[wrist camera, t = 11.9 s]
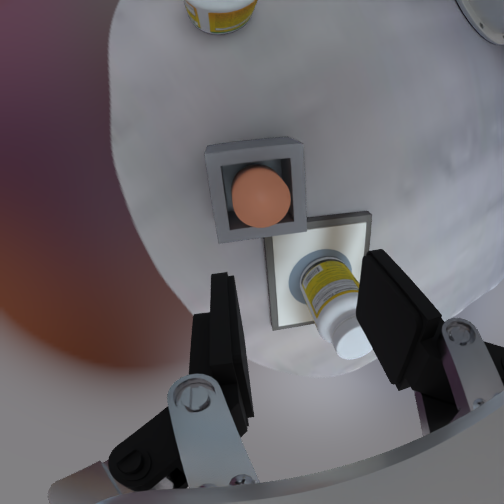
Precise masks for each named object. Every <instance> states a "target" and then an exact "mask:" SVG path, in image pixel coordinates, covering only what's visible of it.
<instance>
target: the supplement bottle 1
mask: <svg viewBox="0 0 504 504" xmlns="http://www.w3.org/2000/svg"><path fill="white" fill-rule="evenodd" d="M184 2H185V6H186V8H187V12H188V14H189V17H190V19H191V21H192V23H193V24H194V25H195V26H196V27H197V28H199V29H200V30H202V31H204V32H207V33H211V34H226V33H230V32H234V31H236V30H238V29H240V28H241V27H243V26H244V25H245V24H246V23H247V22H248V21H249V19H250V17H251V15H252V13H253V11H254V8H255V5H256V3H257V0H184Z"/></svg>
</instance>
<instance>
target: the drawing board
mask: <svg viewBox="0 0 504 504" xmlns="http://www.w3.org/2000/svg"><path fill="white" fill-rule="evenodd" d="M371 222H372V214H371V213H369V212H368V211H363V212H354V213H345V214H336V215H328V216H319V217H311V218H307V232H301V233H293V234H286V235H278V236H271V237H264V246H265V257H266V268H267V279H268V290H269V301H270V313H271V325H272V329H273V331H274V330H280V329H286V328H292V327H298V326H303V325H309V324H314V323H315V322H314V320H313V317H312V315H311V313H310V310H309V308H308V306H307V303H306V301H305V299H304V296H303V294H302V291H301V288H300V279H301V275H302V273H303V271H304V270H305V269H306V267H307V266H308V265H309V264H311V263H312V262H314V261H315V260H317V259H320V258H324V257H334V258H337V259H339V260H341V261H342V262H343V263H344V264H345V265H346V266H347V267H348V268H349V270H350V271H351V273H352V274H353V275H354V277H355V278H356V280H357V281H358V282H359V283H360V275H361V266H362V258H363V256H366V253H367V252H368V251H369V246H370V235H371Z"/></svg>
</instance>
